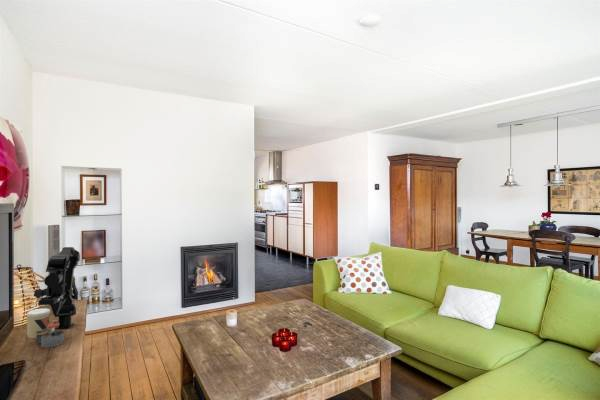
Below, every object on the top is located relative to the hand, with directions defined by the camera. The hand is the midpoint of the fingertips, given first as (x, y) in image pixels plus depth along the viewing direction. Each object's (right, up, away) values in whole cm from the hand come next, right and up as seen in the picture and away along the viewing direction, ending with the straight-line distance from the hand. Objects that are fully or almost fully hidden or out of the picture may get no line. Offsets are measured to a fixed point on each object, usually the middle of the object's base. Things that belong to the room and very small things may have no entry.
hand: (55, 314), depth 156 cm
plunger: (0, -9, -2) cm, 9 cm away
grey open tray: (-1, -13, -3) cm, 13 cm away
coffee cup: (-14, -13, +6) cm, 20 cm away
